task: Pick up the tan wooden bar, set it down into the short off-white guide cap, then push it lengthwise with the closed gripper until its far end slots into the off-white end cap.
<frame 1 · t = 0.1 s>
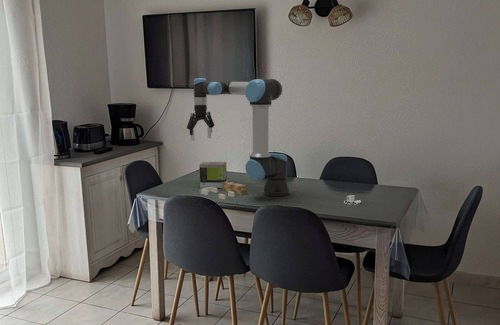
hand: (201, 139, 301), 28 cm above the table, tool pointing down, fingers open, 13 cm apart
guide cap: (226, 197, 273), on the table
tan wooden bar: (234, 192, 286), on the table
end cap: (208, 193, 283), on the table
teacup and saucer: (352, 205, 260), on the table
tea box: (213, 186, 299), on the table
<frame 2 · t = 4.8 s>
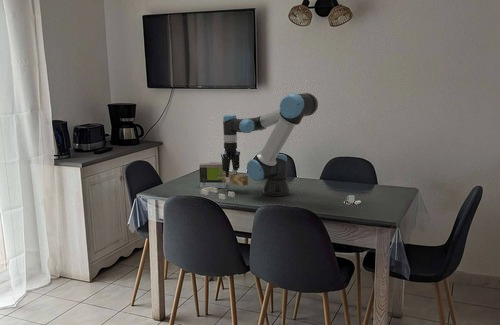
hand: (231, 181, 287), 6 cm above the table, tool pointing down, fingers closed on tan wooden bar, 4 cm apart
tan wooden bar: (235, 183, 285), point 5 cm above the table, touching gripper
everything else where it was.
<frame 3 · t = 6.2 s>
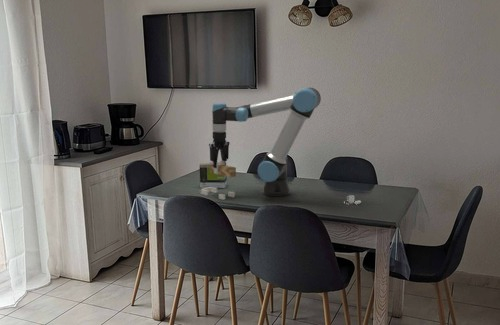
hand: (219, 172, 276), 13 cm above the table, tool pointing down, fingers closed on tan wooden bar, 4 cm apart
tan wooden bar: (222, 174, 275), point 12 cm above the table, touching gripper
everything else where it was.
when the fingers open (2 cm above the table, at t = 8.1 s): tan wooden bar drops 2 cm, on the table.
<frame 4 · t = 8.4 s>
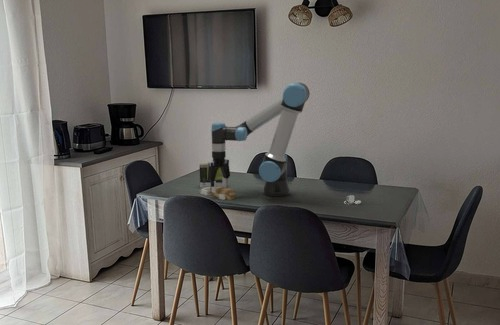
hand: (219, 190, 277), 3 cm above the table, tool pointing down, fingers open, 8 cm apart
tan wooden bar: (222, 197, 276), on the table
everything else where it was.
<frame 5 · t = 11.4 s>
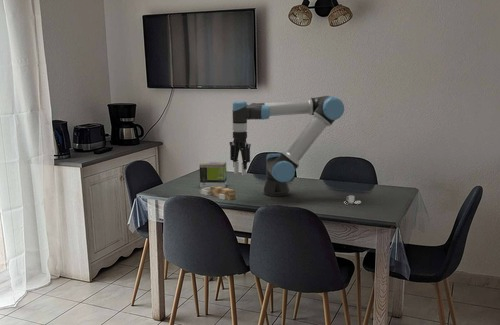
hand: (240, 174, 263), 15 cm above the table, tool pointing down, fingers open, 5 cm apart
nothing on the table moved.
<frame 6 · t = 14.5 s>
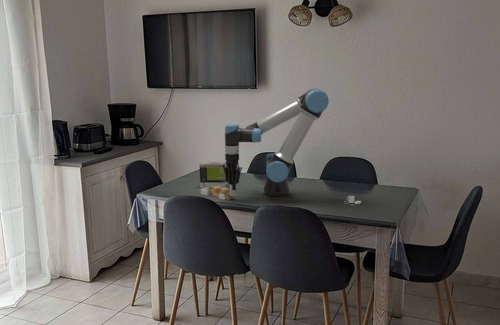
hand: (232, 195, 270), 2 cm above the table, tool pointing down, fingers closed
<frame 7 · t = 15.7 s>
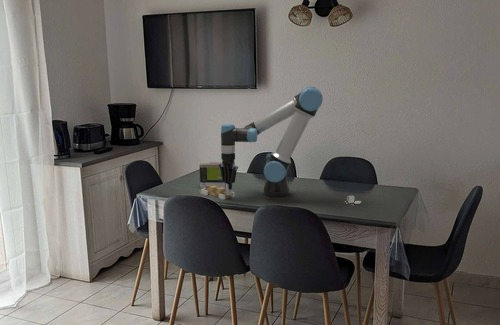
hand: (228, 194, 272), 2 cm above the table, tool pointing down, fingers closed
tan wooden bar: (217, 196, 278), on the table
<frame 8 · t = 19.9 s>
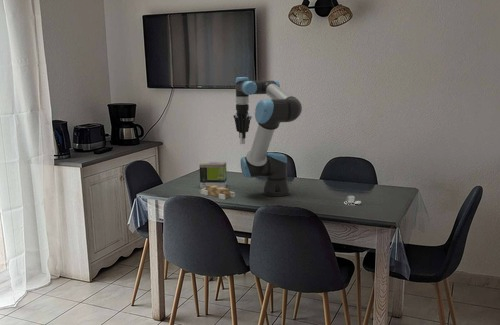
hand: (242, 143, 293), 26 cm above the table, tool pointing down, fingers closed
at the end: tan wooden bar 0.6 cm from the target spot, on the table; tan wooden bar tilted 0°; the gripper is holding nothing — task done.
